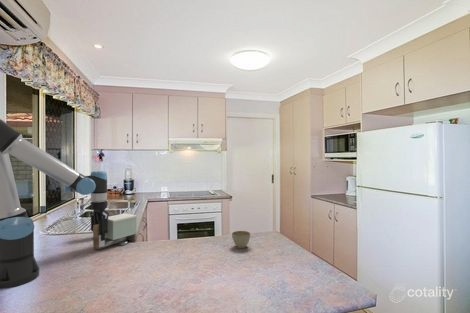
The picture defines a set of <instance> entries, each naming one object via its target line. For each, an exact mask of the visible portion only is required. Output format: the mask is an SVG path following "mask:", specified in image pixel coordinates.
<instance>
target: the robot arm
mask: <svg viewBox="0 0 470 313" xmlns="http://www.w3.org/2000/svg"><path fill="white" fill-rule="evenodd" d="M10 156H13V157H14V158H16V159H18V160H20V161H22V162H23V163H25V164H26V165H28V166H31V167H32V168H34V169H36V170H37V171H39V172H41V173H43V174H44V175H47V176H48V177H50V178H52V179H54V180H55V181H57V182H59V183H61V184H62V187H63V192H65V193H73V192H74V193H78V194H80V195H82V196H85V195H86V196H88V195H90V201H91V202H90V209H91V210H93V211H90V212H89V214H90V230H91V232H93V225H97V224H99V231H100V234H98V235H99V248H100V247H103V246H105V233H108V216H109V217H110V214H109V215H108V214H105V211H106V209H108V201H107V200H108V174H107V171H103V170H97V171H96V170H95V171H91V172H90V175H84V174H82V173H80V172H79V171H77V170H75V169H74V168H72V167H71V166H69V165H67V164H66V163H65V162H62V161H61V160H60V159H58V158H56V157H55V156H53V155H51V154H49V153H48V152H47V151H46V150H43V149H41V148H40V147H38V146H37V145H35V144H33V143H32V142H30V141H29V140H27V139H25V138H24V137H23V134H22V133H21V132H19V131H17V130H16V129H14V128H13V127H12V126H10V125H9V124H8V123H6V122H5V121H4V120H2V119H1V118H0V290H1V289H9V288H14V287H18V286H21V285H24V284H27V283H29V282H32V281H34V280H35V279H37V278H38V277H39V276H40V267H39V265H38V262H37V260H36V257H35V246H34V245H35V242H34V241H35V239H34V238H35V236H34V235H35V223H34V220H33V219H32V218H31V217H29V216H28V212H27V210H26V209H25V208H23V207H22V206H21V202H20V198H19V194H18V193H19V192H18V188H17V184H16V180H15V176H14V170H13V167H12V162H11V159H10Z"/></svg>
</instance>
